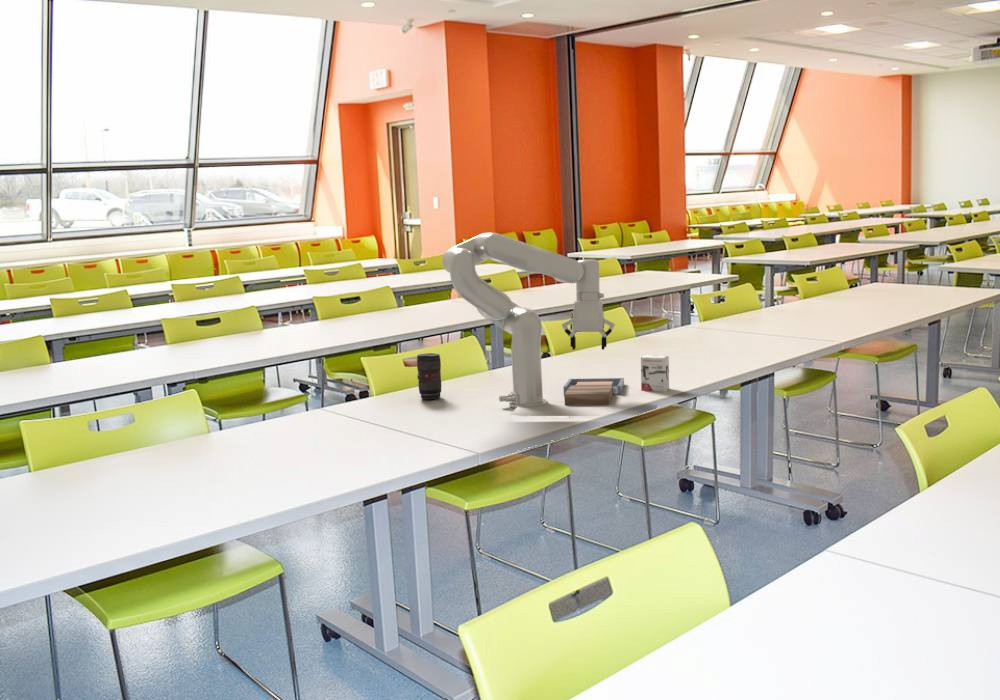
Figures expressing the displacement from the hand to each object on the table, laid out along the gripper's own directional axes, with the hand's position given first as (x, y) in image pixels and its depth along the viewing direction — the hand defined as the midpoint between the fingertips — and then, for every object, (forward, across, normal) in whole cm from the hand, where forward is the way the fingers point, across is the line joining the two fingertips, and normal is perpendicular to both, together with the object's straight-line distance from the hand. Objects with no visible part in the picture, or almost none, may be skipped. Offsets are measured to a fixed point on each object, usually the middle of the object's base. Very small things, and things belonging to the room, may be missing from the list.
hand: (588, 349), depth 296 cm
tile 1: (+15, -1, -3) cm, 15 cm away
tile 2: (+12, -1, -7) cm, 15 cm away
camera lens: (+17, +55, 0) cm, 57 cm away
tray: (+16, -1, -9) cm, 18 cm away
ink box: (+15, -21, -8) cm, 28 cm away
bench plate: (+16, -1, +7) cm, 17 cm away
